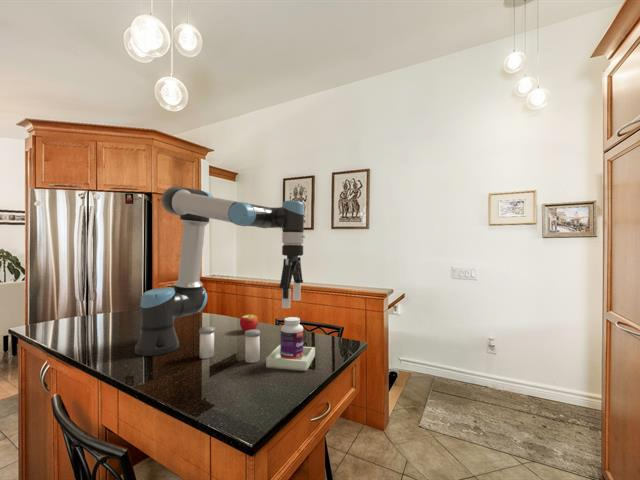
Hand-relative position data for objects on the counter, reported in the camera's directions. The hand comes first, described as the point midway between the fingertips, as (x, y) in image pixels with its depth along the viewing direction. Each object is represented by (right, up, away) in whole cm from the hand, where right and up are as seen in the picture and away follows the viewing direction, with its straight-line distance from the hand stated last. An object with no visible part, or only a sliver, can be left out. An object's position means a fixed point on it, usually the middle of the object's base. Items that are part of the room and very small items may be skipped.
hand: (291, 304), depth 109 cm
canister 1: (-32, -20, +4) cm, 38 cm away
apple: (-24, -21, +36) cm, 48 cm away
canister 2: (-14, -20, 0) cm, 25 cm away
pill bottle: (0, -20, 0) cm, 20 cm away
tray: (0, -20, 0) cm, 20 cm away
